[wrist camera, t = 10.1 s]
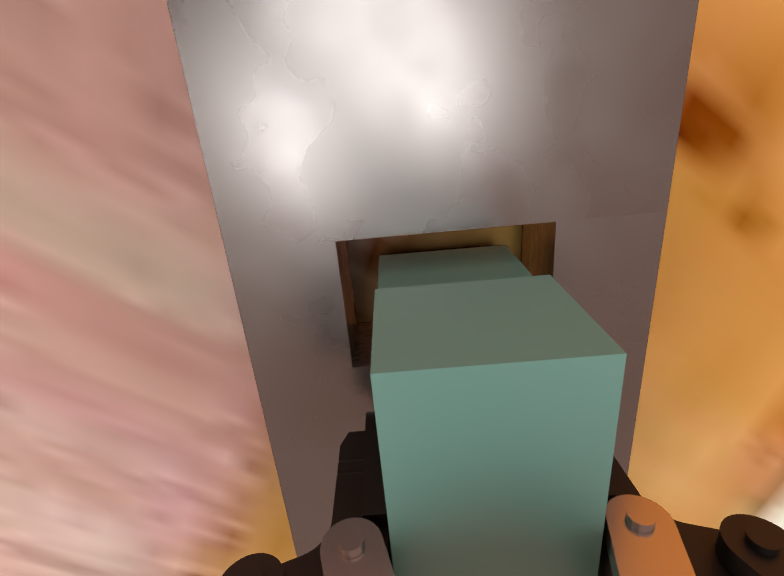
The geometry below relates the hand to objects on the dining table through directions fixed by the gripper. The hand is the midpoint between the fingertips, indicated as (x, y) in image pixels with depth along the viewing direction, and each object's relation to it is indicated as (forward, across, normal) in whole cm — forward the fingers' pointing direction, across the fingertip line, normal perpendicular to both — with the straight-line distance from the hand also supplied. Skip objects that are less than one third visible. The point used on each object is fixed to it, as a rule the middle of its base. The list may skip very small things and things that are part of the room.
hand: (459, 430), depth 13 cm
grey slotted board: (+4, 0, 0) cm, 4 cm away
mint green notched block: (+3, 0, 0) cm, 3 cm away
